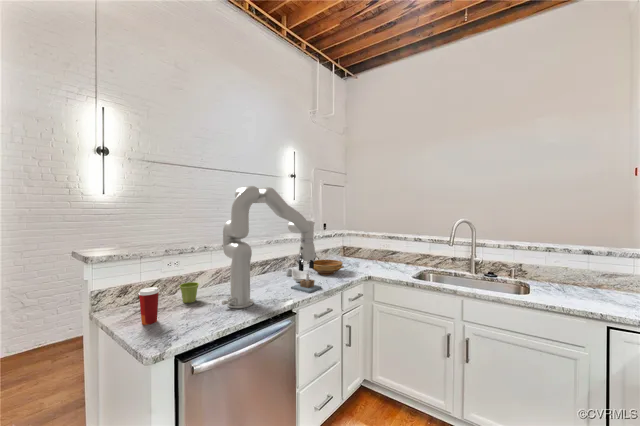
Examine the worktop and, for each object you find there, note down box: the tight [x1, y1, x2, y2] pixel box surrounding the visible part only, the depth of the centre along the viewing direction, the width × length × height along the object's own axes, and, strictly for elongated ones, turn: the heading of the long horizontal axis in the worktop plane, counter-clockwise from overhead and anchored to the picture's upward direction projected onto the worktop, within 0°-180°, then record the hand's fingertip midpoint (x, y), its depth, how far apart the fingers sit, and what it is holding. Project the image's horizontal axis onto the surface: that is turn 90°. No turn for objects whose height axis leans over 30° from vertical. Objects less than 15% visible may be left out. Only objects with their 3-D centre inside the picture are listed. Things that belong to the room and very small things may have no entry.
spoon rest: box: [285, 266, 311, 283], centre depth 189 cm, size 24×12×7 cm, turn 34°
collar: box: [299, 279, 315, 288], centre depth 169 cm, size 6×6×4 cm
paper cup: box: [138, 286, 160, 326], centre depth 119 cm, size 8×8×14 cm
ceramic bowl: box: [312, 259, 345, 276], centre depth 207 cm, size 30×24×8 cm
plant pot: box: [179, 281, 200, 304], centre depth 145 cm, size 9×9×9 cm
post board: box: [290, 272, 322, 294], centre depth 168 cm, size 12×14×9 cm
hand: (306, 269), depth 168 cm, fingers open, 9 cm apart
